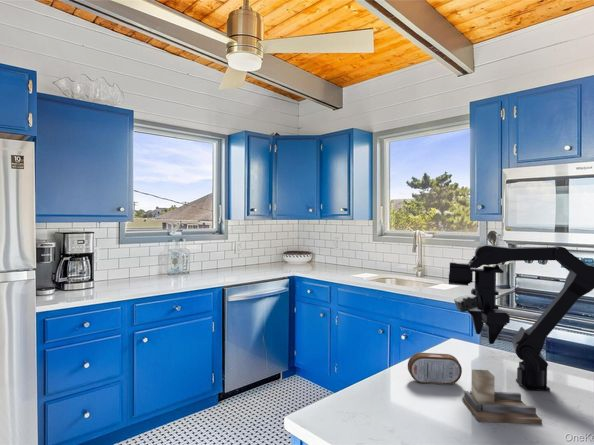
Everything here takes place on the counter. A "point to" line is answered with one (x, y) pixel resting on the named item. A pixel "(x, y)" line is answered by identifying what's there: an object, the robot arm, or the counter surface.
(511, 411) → the track
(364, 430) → the counter surface
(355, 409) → the counter surface
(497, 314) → the robot arm
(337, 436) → the counter surface
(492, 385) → the block
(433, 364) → the tin
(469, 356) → the counter surface
